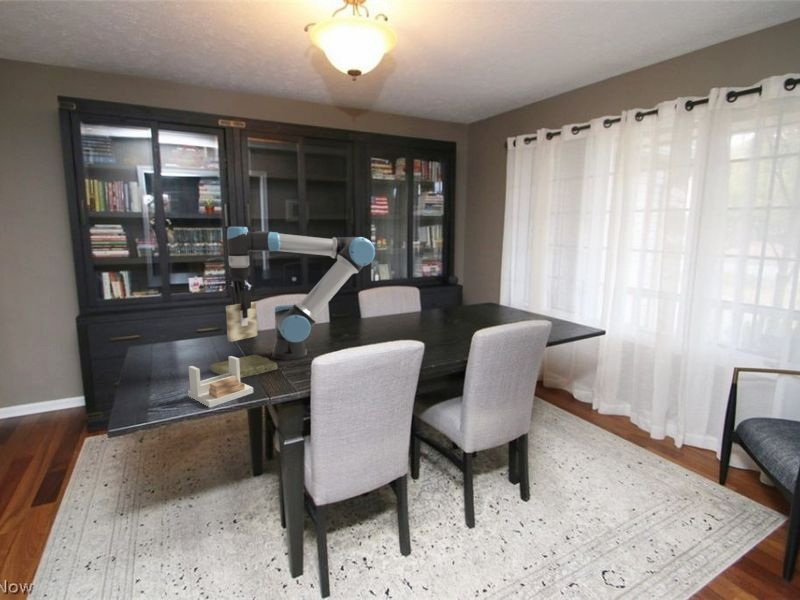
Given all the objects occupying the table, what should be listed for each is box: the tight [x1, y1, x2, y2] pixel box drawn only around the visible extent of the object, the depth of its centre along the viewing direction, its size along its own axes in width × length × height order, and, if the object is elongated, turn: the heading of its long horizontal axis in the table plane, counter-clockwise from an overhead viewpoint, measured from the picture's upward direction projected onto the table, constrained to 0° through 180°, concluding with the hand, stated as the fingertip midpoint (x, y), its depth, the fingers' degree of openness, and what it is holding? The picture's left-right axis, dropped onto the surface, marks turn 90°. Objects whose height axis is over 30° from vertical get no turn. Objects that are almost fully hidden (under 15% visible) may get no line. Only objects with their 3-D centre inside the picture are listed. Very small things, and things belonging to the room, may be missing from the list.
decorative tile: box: [210, 354, 278, 379], centre depth 171 cm, size 19×20×4 cm
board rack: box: [187, 355, 254, 408], centre depth 144 cm, size 16×14×11 cm
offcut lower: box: [209, 381, 245, 398], centre depth 142 cm, size 10×5×2 cm, turn 142°
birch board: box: [225, 301, 258, 343], centre depth 168 cm, size 12×2×14 cm, turn 142°
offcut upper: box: [210, 377, 239, 392], centre depth 141 cm, size 8×4×2 cm, turn 142°
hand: (242, 325), depth 168 cm, fingers closed on birch board, 2 cm apart
